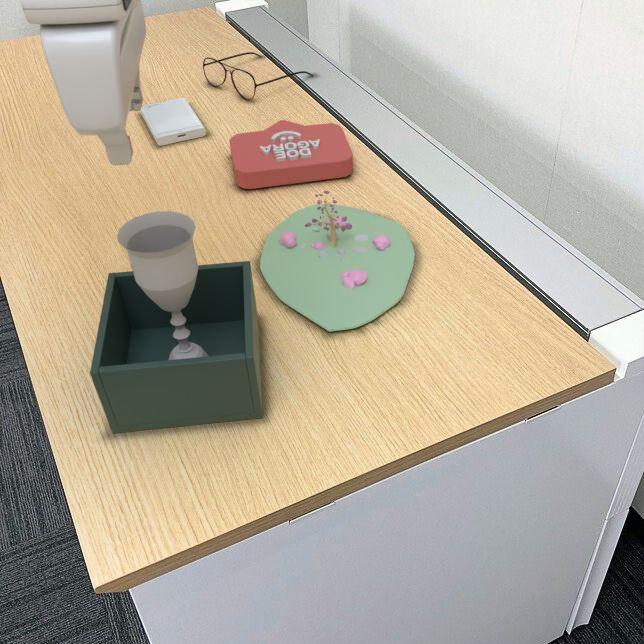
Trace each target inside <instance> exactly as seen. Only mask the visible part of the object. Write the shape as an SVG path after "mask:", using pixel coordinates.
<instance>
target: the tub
mask: <svg viewBox="0 0 644 644" xmlns="http://www.w3.org/2000/svg"><path fill="white" fill-rule="evenodd" d="M181 313H182V315H183V316H184V317H185V318H186V322H185V324H184V327H185V328H186V329H188V330H189V331H190V335H189V336H188V342H192V343H195V344H197V345H199V346H201V348H202V349H203V350H204V351H205V352H206V353H207V354H208V355H209V356H207V357H196V358H186V359H176V360H168V359H169V356H170V353H171V351H172V350H173V349H174V348H175V347H176V346H177V345H178V344H179V341H178V340H177V339H176V338H174V337H173V333H174V331H175V327H174V325H172V324H171V323H170V321H171V319H172V312H168V311H165V310H162V309H161V308H160V307H159V306H158V305H157V304H156V303H155V302H154V301H153V300H151V299H150V298H149V297H148V296H147V295H146V294H145V292H144V291H143V290H142V289H141V287H140V286H139V285H138V284H137V282H136V281H135V277H134V274H133V270H129V271H118V272H109V273H108V275H107V280H106V285H105V289H104V296H103V301H102V307H101V312H100V317H99V323H98V329H97V334H96V339H95V344H94V350H93V354H92V360H91V365H90V372H89V374H90V377H91V381H92V382H93V385H94V388H95V390H96V393H97V396H98V398H99V401H100V403H101V406H102V409H103V411H104V414H105V417H106V419H107V422H108V425H109V428H110V430H111V433H112V434H120V433H130V432H139V431H141V432H142V431H150V430H158V429H169V428H177V427H178V428H179V427H186V426H187V427H189V426H197V425H207V424H217V423H226V422H237V421H246V420H256V419H263V418H264V412H263V411H264V410H263V390H262V389H263V388H262V368H261V349H260V348H261V347H260V329H259V316H258V308H257V301H256V293H255V287H254V280H253V273H252V264H251V261H250V260H244V261H243V260H242V261H232V262H220V263H210V264H209V263H208V264H198V272H197V277H196V282H195V286H194V289H193V292H192V294H191V297H190V299H189V302H188V304H187V305H186V307H184V308H183V309H181Z"/></svg>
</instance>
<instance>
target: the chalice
mask: <svg viewBox="0 0 644 644" xmlns="http://www.w3.org/2000/svg"><path fill="white" fill-rule="evenodd" d="M195 223H196V222H195V220H193V219H192V218H191V217H190V216H188V215H187V214H184V213H181V212H178V211H172V210H171V211H169V210H163V211H161V210H160V211H159V210H158V211H151V212H148V213H144V214H141V215H138V216H136V217H133V218H131V219H130V220H128V221H127V222H125V223H124V224H123V225H122V226H121V227H120V228H119V230H118V232H117V235H116V237H117V242H118V243H119V244H120V245H121V246H122V247H123V248H124V249H125V250H126V252H127V255H128V259H129V263H130V267H131V271H133V274H134V277H135V281H136V282H137V284H138V285H139V286H140V287H141V289H142V290H143V291H144V292H145V294H146V295H147V296H148V297H149V298H150V299H151V300H153V301H154V302H155V303H156V304H157V305H158V306H159V307H160V308H161V309H162V310H165V311H168V312H172V319H171V321H170V323H171V324H172V325H174V327H175V331H174V333H173V337H174V338H176V339H177V340H178V341H179V344H178V345H177V346H176V347H175V348H174V349H173V350H172V351H171V353H170V356H169V359H168V360H176V359H186V358H196V357H207V356H209V355H208V354H207V353H206V352H205V351H204V350H203V349H202V348H201V346H199V345H197V344H195V343H192V342H188V336H189V335H190V331H189V330H188V329H186V328H185V327H184V324H185V322H186V318H185V317H184V316H183V315H182V313H181V309H183V308H184V307H186V305H187V304H188V302H189V299H190V297H191V294H192V292H193V289H194V286H195V282H196V277H197V272H198V265H199V264H198V259H197V254H196V249H195V244H194V240H193V237H194V235H195V232H196V228H197V226H196V224H195Z"/></svg>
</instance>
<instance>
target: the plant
mask: <svg viewBox="0 0 644 644" xmlns="http://www.w3.org/2000/svg"><path fill="white" fill-rule="evenodd" d="M323 193H324V194H325V195H329V194H330V192H329V191H328V190H323ZM323 193H319V194H314V197H316V198H319V199H318V200H317V201H316V203H317V204H314V205H310V206H307V207H303V208H301V209H298V210H296V211H295V212H293V213H292V214H290V215H289V216H288V217H287V218H285V219H284V220H283V221H282V222H281V223H279V225H277V226H276V227H275V228H274V229H273V230H272V231H271V232H270V233H269V234H268V235H267V237H266V239H265V242H264V245H263V248H262V252H261V255H260V259H259V268H260V272H261V274H262V276H263V278H264V281H265V282H266V284H267V285H268V287H269V288H270V290H271V291H272V293H274V294H275V295H276V297H277V298H278V299H279V300H280V301H281V302H282V303H283V304H285V306H287V307H289V308H291V309H293V310H294V311H296V312H297V313H299V314H300V315H302V316H303V317H305V318H306V319H308V320H310V321H311V322H313V323H315V324H316V325H318V326H319V327H321V328H322V329H324V330H326V331H327V332H330V333H331V332H339V331H345V330H346V331H347V330H351V329H356V328H360V327H362V326H365V325H366V324H369V323H371V322H372V321H374V320H375V319H377V318H378V317H380V316H381V315H383V314H384V313H386V312H387V311H389V310H390V309H391V308H392V307H394V306H396V305H397V304H398V303H399V302H400V301H401V300H402V298H403V297H404V295H405V293H406V289H407V286H408V283H409V280H410V278H411V275H412V272H413V269H414V265H415V258H416V253H415V249H414V246H413V243H412V241H411V238H410V236H409V234H408V231H407V230H406V228H405V227H404V225H402V224H401V223H400V222H399V221H397V220H393V219H390V218H388V217H384V216H382V215H379V214H376V213H373V212H370V211H367V210H365V209H361V208H358V207H351V206H347V205H340V204H337V203H338V201H337V200H335V199H336V198H335V197H334V196H333V197H331V198H332V201H329V202H328V201H327V196H325V197H324V194H323ZM323 197H324V201H322V198H323ZM327 202H328V203H327Z"/></svg>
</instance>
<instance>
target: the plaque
mask: <svg viewBox="0 0 644 644" xmlns="http://www.w3.org/2000/svg"><path fill="white" fill-rule="evenodd" d="M228 142H229V148H230V156H231V161H232V165H233V170H234V177H235V182H236V185H237V186H238V187H240V188H241V189H246V190H253V189H262V188H269V187H270V188H271V187H276V186H284V185H293V184H294V185H295V184H301V183H309V182H316V181H323V180H325V181H326V180H333V179H339V178H346V177H348V176H350V175H352V173H353V171H354V162H353V161H354V160H353V159H354V155H353V154H354V153H353V151H352V149H351V146H350V143H349V141H348V139H347V136H346V134H345V132H344V129H343V127H342V126H340V125H339V124H337V123H333V122H329V123H318V124H307V125H304V124H300V123H297V122H293V121H289V120H286V119H280V120H278V121H276V122H274V123H273V124H272V125H270V126H268V127H267V128H266V129H264V130H255V131H248V132H240V133H236V134H234V135H232V136H231V137H230V138H229V141H228Z"/></svg>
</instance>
